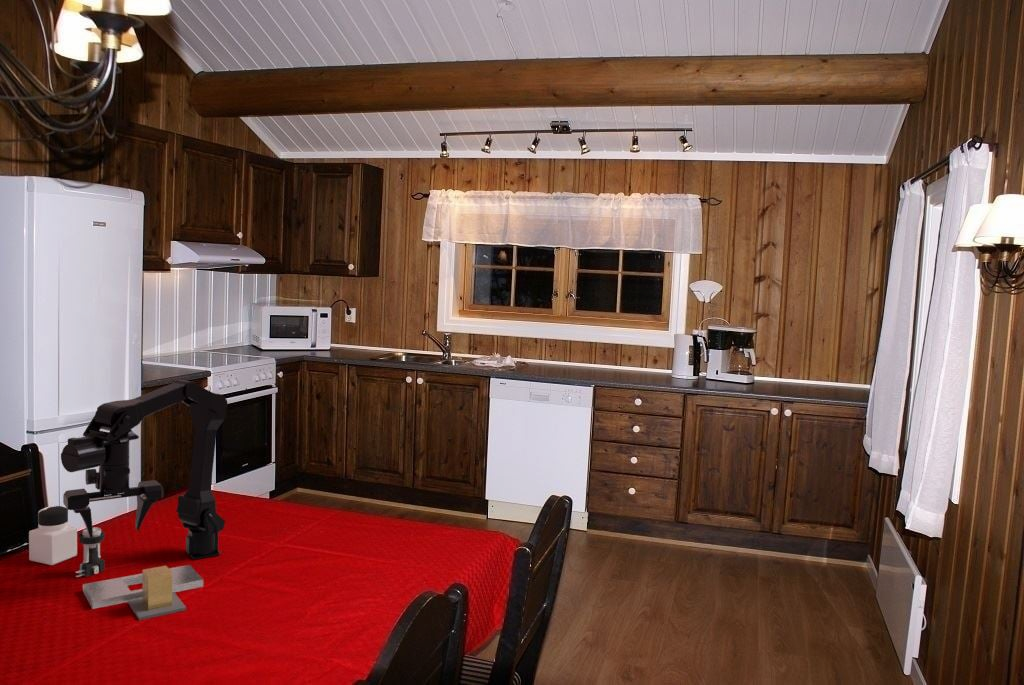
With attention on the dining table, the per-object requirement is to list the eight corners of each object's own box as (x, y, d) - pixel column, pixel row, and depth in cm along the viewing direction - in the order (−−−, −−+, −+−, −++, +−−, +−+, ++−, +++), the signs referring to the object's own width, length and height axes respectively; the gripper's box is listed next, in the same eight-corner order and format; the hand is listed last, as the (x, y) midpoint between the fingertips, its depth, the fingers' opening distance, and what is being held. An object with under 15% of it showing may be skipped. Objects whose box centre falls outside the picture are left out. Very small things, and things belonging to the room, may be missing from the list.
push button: (84, 581, 178) (84, 537, 177) (67, 576, 180) (67, 533, 179) (110, 571, 184) (110, 528, 183) (93, 566, 186) (93, 524, 185)
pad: (173, 594, 174) (173, 591, 174) (186, 610, 167) (186, 607, 167) (128, 603, 168) (128, 600, 168) (139, 620, 161) (139, 617, 161)
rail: (189, 571, 186) (189, 564, 186) (203, 586, 179) (203, 579, 178) (82, 591, 173) (82, 584, 173) (92, 608, 165) (92, 601, 165)
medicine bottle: (77, 555, 192) (77, 506, 191) (51, 565, 186) (51, 514, 184) (54, 550, 195) (54, 502, 193) (28, 560, 188) (28, 510, 187)
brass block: (165, 597, 171) (166, 565, 170) (172, 605, 167) (172, 572, 166) (142, 602, 168) (142, 569, 167) (148, 610, 164) (148, 577, 164)
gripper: (150, 449, 185) (150, 516, 187) (58, 458, 174) (58, 529, 175) (164, 460, 177) (163, 530, 178) (68, 471, 165) (68, 545, 167)
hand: (114, 533), depth 175 cm, fingers open, 9 cm apart
